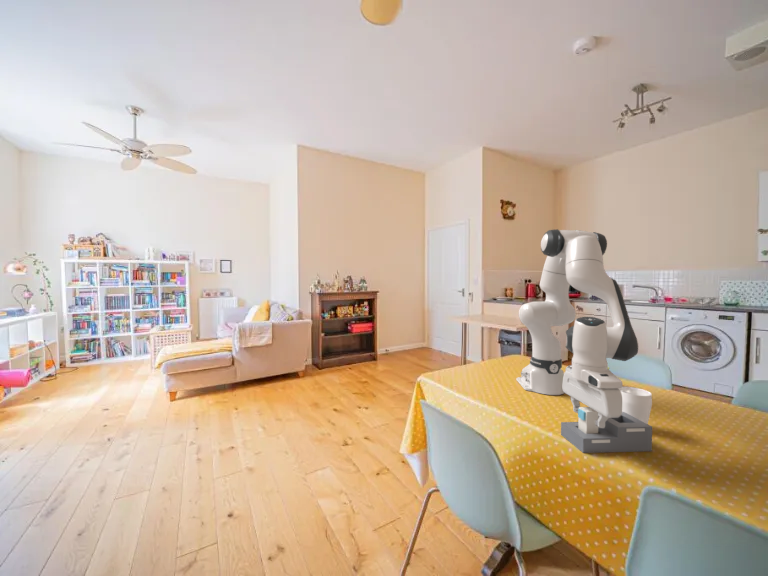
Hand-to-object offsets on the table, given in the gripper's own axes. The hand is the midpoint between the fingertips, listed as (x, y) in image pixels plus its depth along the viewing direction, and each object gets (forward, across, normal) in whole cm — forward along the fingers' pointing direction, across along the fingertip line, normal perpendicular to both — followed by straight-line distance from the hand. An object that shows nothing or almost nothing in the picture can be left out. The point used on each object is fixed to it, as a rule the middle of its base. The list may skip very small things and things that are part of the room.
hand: (588, 419), depth 91 cm
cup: (+7, -9, +22) cm, 25 cm away
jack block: (+7, 0, +5) cm, 9 cm away
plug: (+6, 0, 0) cm, 6 cm away
